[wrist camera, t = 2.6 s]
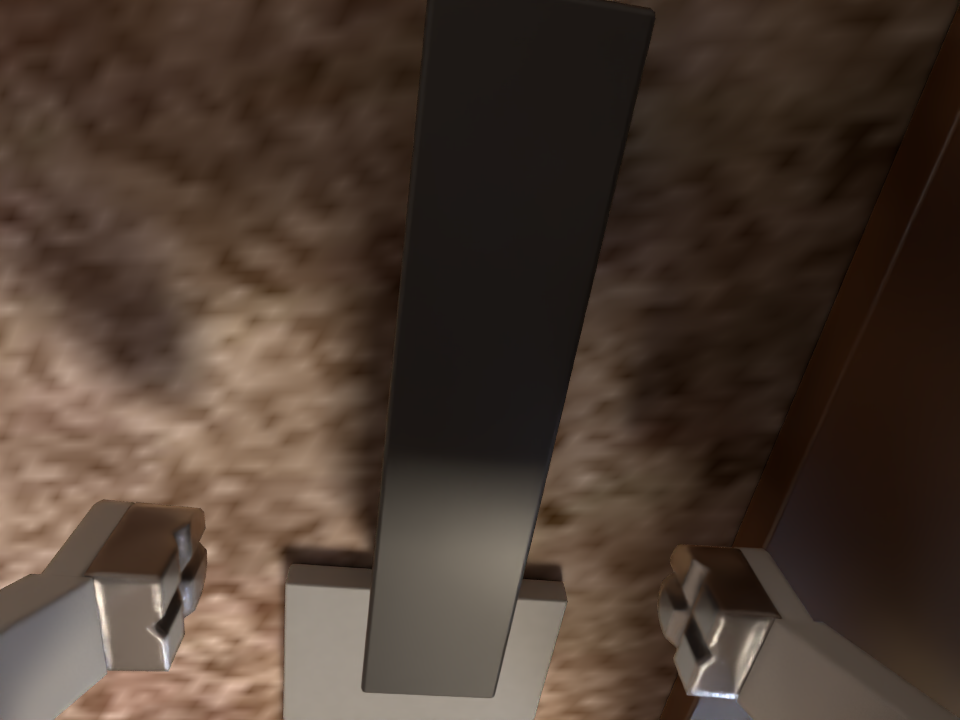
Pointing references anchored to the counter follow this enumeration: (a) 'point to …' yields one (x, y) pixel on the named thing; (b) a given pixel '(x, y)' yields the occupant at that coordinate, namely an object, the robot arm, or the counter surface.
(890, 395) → the box
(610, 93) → the spatula
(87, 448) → the counter surface
